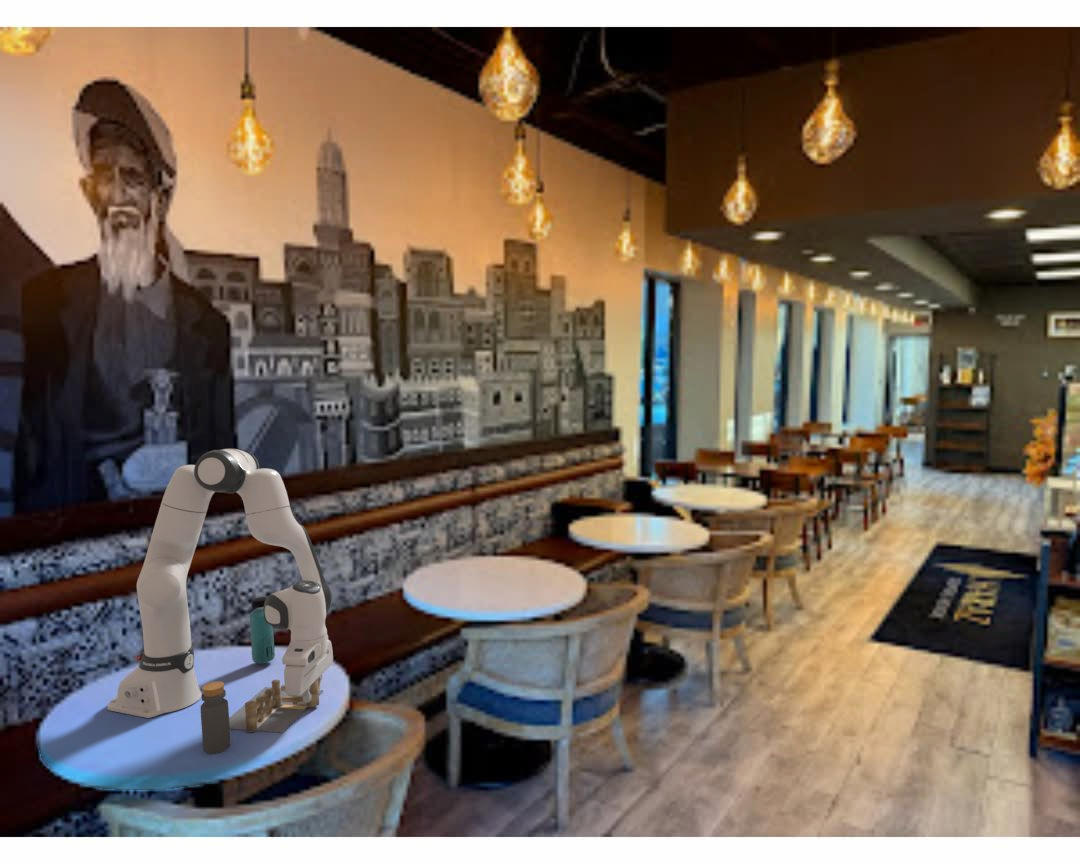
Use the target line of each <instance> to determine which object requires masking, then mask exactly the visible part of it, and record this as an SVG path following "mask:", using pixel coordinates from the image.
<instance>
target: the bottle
mask: <svg viewBox="0 0 1080 864" xmlns="http://www.w3.org/2000/svg"><path fill="white" fill-rule="evenodd" d="M201 690H202V691H201V692H202V695H201V697H200V698H201V701H203V703H201V705H200V719H201V720H200V721H201V737H202V738H201V739H202V749H203V752H204V753H205V754H209V755H212V754H220V753H223V752H225V751H227V750H228V749H229V748H230V747H231V729H230V724H229V717H230V712H229V700H228V699H227V698H225V697H226V694H227V692H226V690H225V682H224V681H211V682H208V683H205V684H204V685H203V686H202V687H201Z"/></svg>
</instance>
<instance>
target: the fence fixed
mask: <svg viewBox="0 0 1080 864" xmlns="http://www.w3.org/2000/svg"><path fill="white" fill-rule="evenodd" d="M271 687H272V688H271V689H267V690H265V694H264V695H263V696H262V697H261V696H258V697H257V698H256V702H255V701H249V700H248V701H249V702H248V701H247V702H245V703H244V705H245V715H246V730H245V731H246V732H247V733H254V732H257V731H256V730H257V722H262V721H263V720H264V716H263V715H264V714H270V713H271V712H272V707H273V708H279V707H281V693H280V688H281V680H280V679H273V680H272V681H271ZM271 696H272V698H273V699H272V700H271ZM264 702H265V706H264V707H263V703H264ZM256 710H257V713H256Z"/></svg>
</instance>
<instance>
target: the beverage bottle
mask: <svg viewBox="0 0 1080 864" xmlns="http://www.w3.org/2000/svg"><path fill="white" fill-rule="evenodd" d="M266 599H267V597H266V596H265V597H264V596H262V597H261V596H258V597H256V598H253V599H252V608H255V609H253V610H252V611H251V612H250V613H249V624H250V641H251V642H250V643H251V644H250V645H251V648H250V649H251V659H252V661H253V663H255V664H265V663H269V662H272V661H273V660H274V659H275V656H276V652H275V649H276V647H275V638H274V630H275V629H274V628H273V627H272V626H270V625H269V624H268V623H267V622H266V621H265V618H264V612H263V609H264V603H265V601H266Z"/></svg>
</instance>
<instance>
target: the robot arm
mask: <svg viewBox="0 0 1080 864" xmlns="http://www.w3.org/2000/svg"><path fill="white" fill-rule="evenodd" d="M215 493H224V494H236V493H237V494H238V495H239V496H240V497H241V499H242V501H243V506H244V512H245V518H246V523H247V527H248V530H249V532H250V534H251V536H252V537H253V538H255V539H256V540H257V541H259V542H260V543H263V544H266V545H270V546H276V547H282V548H284V549H287V550H288V551H290V552H291V553H292V555H293V556H294V560H295V562H296V565H297V567H298V570H299V574H300V577H301V579H302V580H299V581H295V582H294V583H293V584H292V585H291V586H290V587H288V588H285V589H281V590H278V591H275V592H273V593H271V594H269V595H268V596H267V597H266V598H267V599H266V601H265V603H264V607H263V608H264V609H263V612H264V618H265V621H266V622H267V623H268V624H269V625H270V626H272V627H273V629H278V630H289V631H290V641H289V645H288V646H287V649H286V651H285V652H284V654H283V655H282V658H281V661H282V665H284V670H283V679H284V680H283V681H284V685H285V691H286V693H287V695H288V696H295V697H299V696H301V695H302V696H303V702H310V701H311V700H312V693H310V691H309V690H310V686H311V685H312V684H313V683H314V682H315V681H316V680H317V679H318V690H319V691H320V690H321V684H322V679H323V674H325V672H326V671H327V670H328V669H329V668H330V667H331V666H332V665H333V661H334V655H333V654H334V653H333V652H334V651H333V646H332V641H331V640H330V639H329V635H328V629H327V627H326V618H327V614H328V613H329V611H330V609H331V607H332V604H333V598H334V597H333V596H334V595H333V592H332V590H331V588H330V586H329V584H328V582H327V580H326V578H325V576H324V574H323V571H322V569H321V568H322V567H321V565H320V562H319V560H318V557H317V553H316V551H315V548H314V546H313V543H312V540H311V538H310V536H309V533H308V531H307V529H306V528H305V527H304V525H302V524H300V523H299V522H298V521H297V520H296V518H295V517H294V515H293V512H292V509H291V505H290V501H289V496H288V491H287V489H286V487H285V484H284V480H283V478H282V477H281V475H280V473H279V472H278V471H277V470H276V469H274V468H273V469H272V468H260V464H259V461H258V459H257V458H256V456H255V455H254V454H253V453H251V452H249V451H248V450H245V449H242V448H238V449H237V448H223V449H213V450H210V451H207V452H206V453H203V454H202V455H201V456H200V457H199V458H198V459H197V460H196V462H195V464H184V465H182V466H179V467H178V468H177V469H175V471H174V472H173V475H171V478H170V479H169V481H168V484H167V486H166V489H165V491H164V494H163V496H162V500H161V503H160V507H159V510H158V513H157V517H156V519H155V523H154V526H153V531H152V533H151V537H150V541H149V543H148V544H149V545H148V549H147V550H146V556H145V559H144V561H143V565H142V568H141V570H140V573H139V576H138V577H137V582H136V594H137V601H138V602H137V603H138V607H139V614H140V619H141V625H142V626H141V627H142V638H143V639H142V640H143V648H144V649H143V650H144V651H142V652H140V654H139V655H137V656H134V659H135V660H134V661H135V662H138V661H140V662H139V664H138V666H137V667H136V668H135V669H133V670H132V671H131V672H130V673H128V674H127V675H126V676H125V677H124V678H123V679H122V680H120V683H119V685H118V687H117V695H116V696H115V697H114V698H112V699H111V700H110V701H109V703H108V704H107V708H106V709H107V710H108V711H112V712H117V713H121V714H124V715H125V714H127V715H131V716H136V717H141V718H144V719H145V718H147V719H150V718H154V717H157V716H159V715H162V714H167V713H171V712H176V711H179V710H182V709H184V708H188V707H189V706H191V705H193V704H195V703H197V701H199V700H200V699H201V698H202V697H201V696H202V694H203V692H202V691H201V689H200V687H199V684H198V680H197V676H196V671H195V667H194V666H195V652H194V644H193V643H192V636H191V635H192V634H191V621H190V613H189V612H190V611H189V604H188V603H189V602H188V597H187V596H188V595H187V579H188V573H189V570H190V568H191V564H192V560H193V557H194V554H195V551H196V548H197V545H198V542H199V539H200V536H201V534H202V533H201V532H202V528H203V526H204V523H205V518H206V516H207V512H208V509H209V505H210V502H211V500H212V497H213V495H214V494H215Z"/></svg>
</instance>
